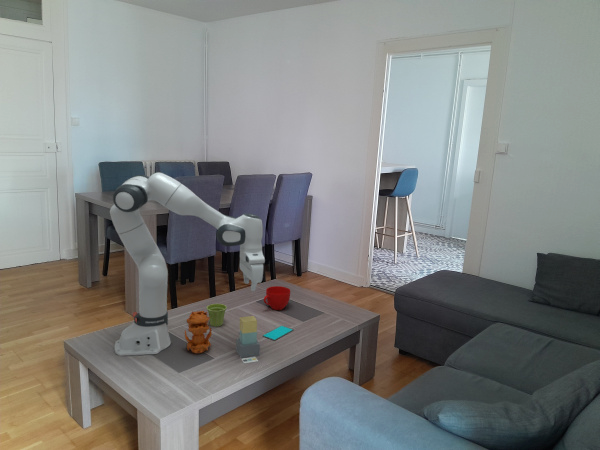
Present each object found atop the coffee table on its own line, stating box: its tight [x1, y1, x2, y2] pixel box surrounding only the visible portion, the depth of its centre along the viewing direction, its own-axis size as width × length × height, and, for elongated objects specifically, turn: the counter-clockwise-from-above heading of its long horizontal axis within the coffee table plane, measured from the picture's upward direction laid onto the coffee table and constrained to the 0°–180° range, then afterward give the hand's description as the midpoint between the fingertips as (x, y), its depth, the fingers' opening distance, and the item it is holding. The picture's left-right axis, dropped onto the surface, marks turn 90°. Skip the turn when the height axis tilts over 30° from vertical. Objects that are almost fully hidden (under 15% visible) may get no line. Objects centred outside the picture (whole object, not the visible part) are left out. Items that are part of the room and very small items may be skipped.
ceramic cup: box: [263, 285, 291, 311], centre depth 234 cm, size 13×17×10 cm
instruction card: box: [241, 356, 259, 364], centre depth 179 cm, size 6×4×1 cm, turn 113°
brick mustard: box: [238, 315, 258, 334], centre depth 183 cm, size 6×5×5 cm
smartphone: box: [262, 325, 294, 342], centre depth 205 cm, size 7×1×15 cm
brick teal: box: [239, 329, 258, 345], centre depth 184 cm, size 6×5×5 cm
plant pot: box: [206, 303, 228, 328], centre depth 211 cm, size 9×9×9 cm
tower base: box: [235, 337, 261, 359], centre depth 185 cm, size 8×8×5 cm
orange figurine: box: [184, 310, 213, 354], centre depth 183 cm, size 11×11×18 cm
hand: (249, 286), depth 180 cm, fingers open, 8 cm apart
